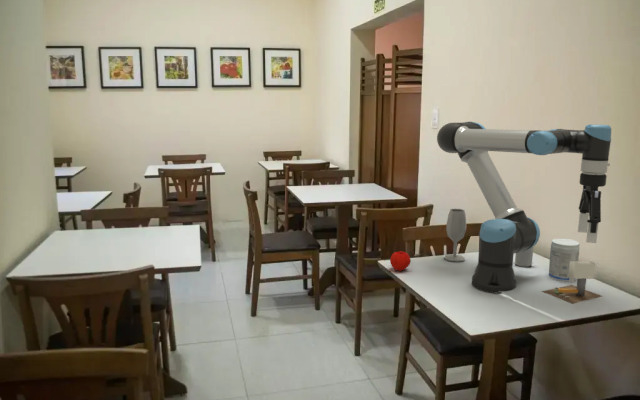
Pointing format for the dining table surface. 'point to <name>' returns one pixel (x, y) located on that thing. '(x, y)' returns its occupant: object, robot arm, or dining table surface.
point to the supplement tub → (562, 258)
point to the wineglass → (456, 231)
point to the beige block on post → (580, 275)
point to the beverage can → (524, 258)
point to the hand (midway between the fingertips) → (586, 237)
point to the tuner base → (571, 295)
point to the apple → (400, 260)
